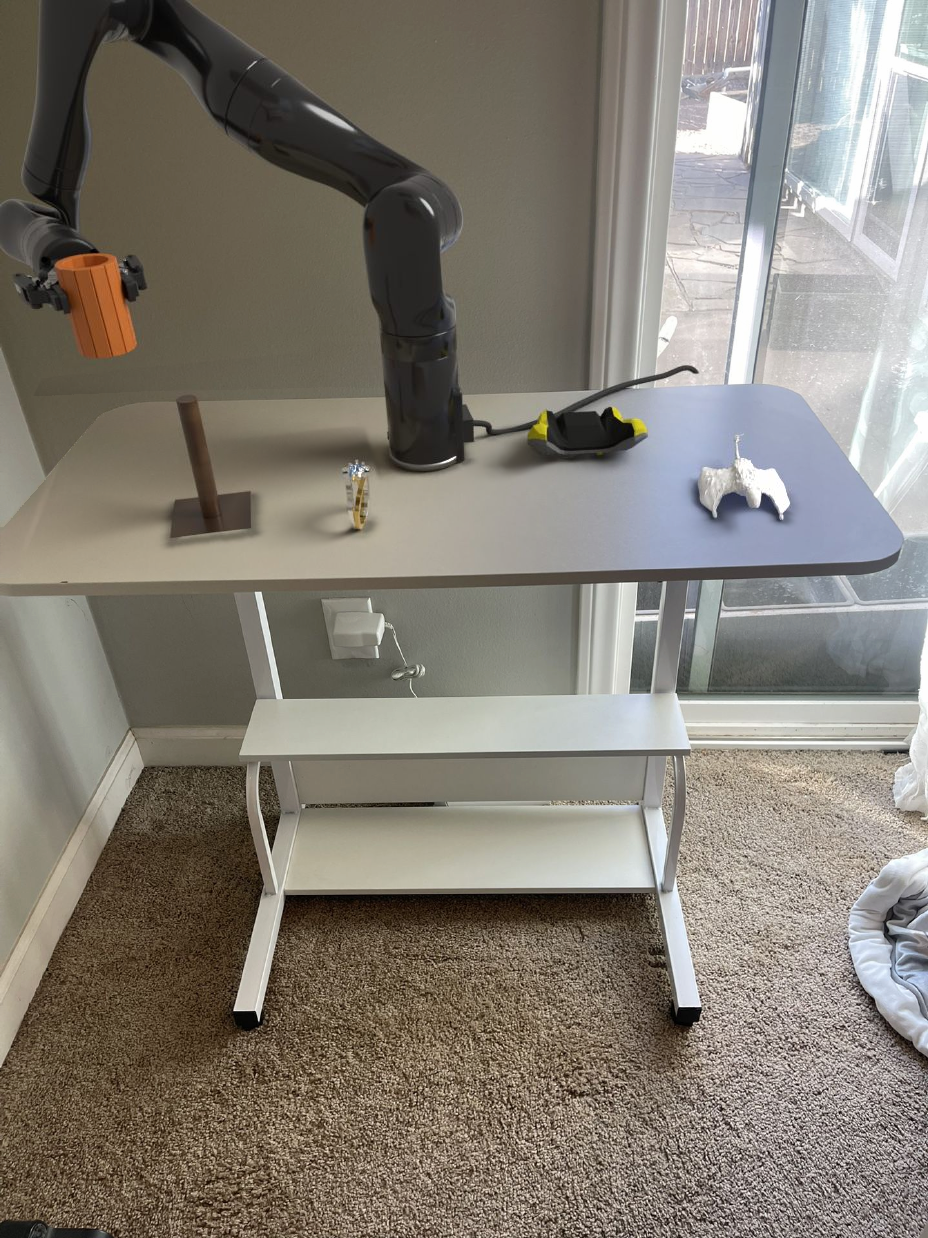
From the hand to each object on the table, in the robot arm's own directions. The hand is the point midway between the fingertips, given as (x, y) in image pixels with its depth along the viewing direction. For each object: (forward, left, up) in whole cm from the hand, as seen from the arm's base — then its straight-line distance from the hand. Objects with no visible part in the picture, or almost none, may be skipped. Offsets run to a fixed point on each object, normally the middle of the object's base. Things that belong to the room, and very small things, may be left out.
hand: (98, 298), depth 98 cm
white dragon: (-70, +16, -25) cm, 76 cm away
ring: (-25, +13, -25) cm, 37 cm away
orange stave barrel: (+1, -2, -6) cm, 7 cm away
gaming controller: (-55, +1, -24) cm, 60 cm away
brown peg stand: (-8, +7, -24) cm, 26 cm away
